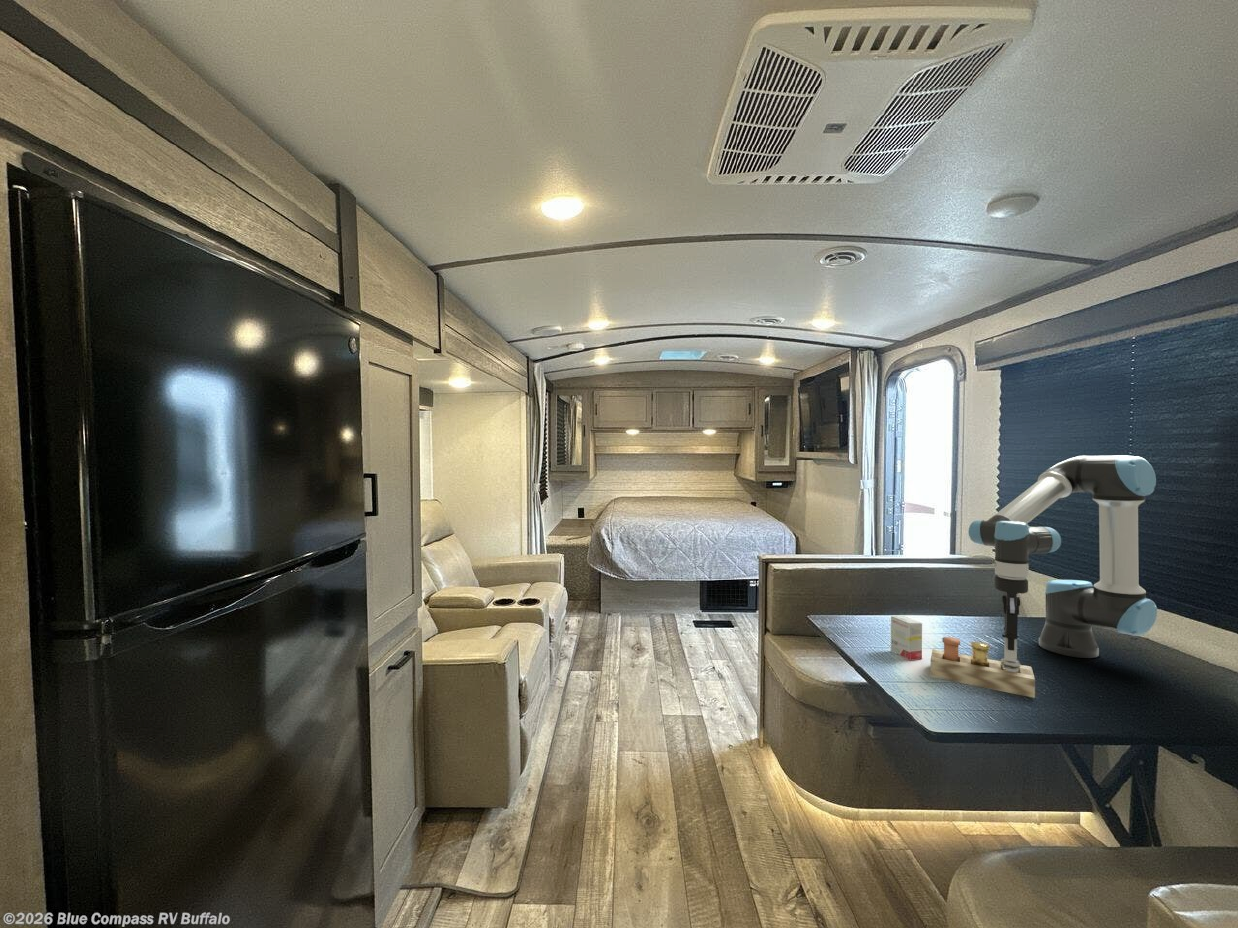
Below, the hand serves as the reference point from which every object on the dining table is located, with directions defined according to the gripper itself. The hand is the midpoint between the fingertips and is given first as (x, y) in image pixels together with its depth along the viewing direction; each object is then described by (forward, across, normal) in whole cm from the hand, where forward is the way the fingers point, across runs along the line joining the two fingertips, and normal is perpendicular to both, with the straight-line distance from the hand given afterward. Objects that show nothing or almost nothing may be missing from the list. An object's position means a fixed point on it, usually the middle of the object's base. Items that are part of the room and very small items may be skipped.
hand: (1010, 660), depth 145 cm
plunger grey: (+7, 0, 0) cm, 7 cm away
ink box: (+8, -10, -27) cm, 29 cm away
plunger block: (+7, 0, -7) cm, 10 cm away
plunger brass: (+3, 0, -7) cm, 8 cm away
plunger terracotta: (+3, 0, -14) cm, 14 cm away
